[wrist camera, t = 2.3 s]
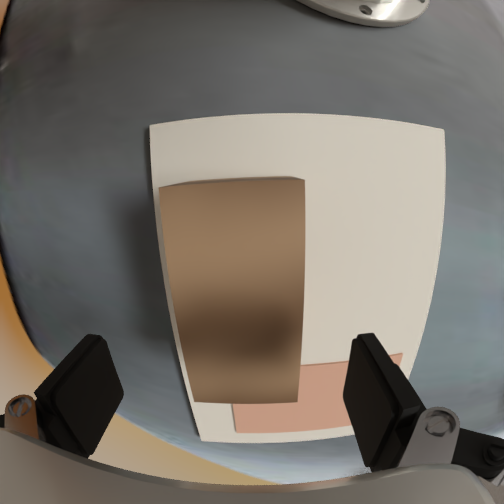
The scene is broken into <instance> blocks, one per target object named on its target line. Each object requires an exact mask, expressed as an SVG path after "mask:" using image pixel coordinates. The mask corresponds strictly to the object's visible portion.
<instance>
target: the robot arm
mask: <svg viewBox="0 0 504 504" xmlns="http://www.w3.org/2000/svg"><path fill="white" fill-rule="evenodd" d="M297 1H299V2H301V3H303V4H305V5H307V6H308V7H310V8H312V9H315V10H317V11H320V12H322V13H325V14H327V15H329V16H332V17H335V18H339V19H342V20H345V21H348V22H352V23H357V24H362V25H367V26H377V27H394V26H401V25H404V24H408V23H410V22H412V21H413V20H415V19H417V18H418V17H419V16H420V15H421V14H422V13H423V12H425V11H426V9H427V7H428V5H429V0H297ZM34 394H35V395H36V397H37V399H36V401H35V400H34V399H33V398H32V397H31V396H29V395H18V396H16V397H14V398H12V399H11V400H10V401H9V402H8V403H7V405H6V408H5V414H3V415H0V504H504V439H502V438H499V437H494V436H490V435H486V434H482V433H477V432H474V431H470V430H466V429H462V428H460V421H459V418H458V416H457V415H456V414H455V413H454V412H453V411H451V410H450V409H447V408H444V407H432V408H429V409H426V408H425V406H424V404H423V403H422V401H421V400H420V398H419V396H418V395H417V393H416V392H415V390H414V389H413V387H412V386H411V384H410V382H409V381H408V379H407V378H406V376H405V375H404V373H403V372H402V370H401V369H400V367H399V366H398V365H397V364H395V363H394V362H393V361H392V359H391V358H390V356H389V355H388V353H387V352H386V350H385V349H384V347H383V346H382V344H381V343H380V341H379V340H378V338H377V337H376V335H375V334H374V333H364V334H358V335H357V338H354V339H353V340H352V344H351V350H350V357H349V363H348V368H347V374H346V379H345V384H344V389H343V401H344V404H345V407H346V410H347V413H348V416H349V418H350V421H351V424H352V427H353V430H354V434H355V437H356V440H357V443H358V446H359V449H360V452H361V455H362V458H363V462H364V464H365V466H366V467H370V469H371V472H372V473H366V474H362V475H356V476H351V477H345V478H339V479H333V480H325V481H317V482H308V483H298V484H285V485H254V486H252V485H247V486H245V485H221V484H207V483H197V482H188V481H180V480H174V479H167V478H161V477H156V476H150V475H146V474H141V473H137V472H132V471H128V470H124V469H120V468H116V467H113V466H110V465H106V464H102V463H99V462H96V461H93V460H90V459H88V457H89V456H90V455H92V454H93V453H94V451H95V449H96V447H97V445H98V444H99V442H100V440H101V438H102V436H103V434H104V432H105V430H106V428H107V426H108V424H109V423H110V421H111V419H112V417H113V415H114V413H115V411H116V410H117V408H118V406H119V404H120V402H121V400H122V399H123V395H124V391H123V388H122V385H121V383H120V380H119V377H118V375H117V372H116V369H115V366H114V363H113V360H112V358H111V355H110V351H109V348H108V345H107V342H106V341H105V340H104V339H103V338H102V336H100V335H93V334H87V335H86V336H85V337H84V338H83V339H82V340H81V341H80V342H79V343H78V344H77V345H76V346H75V348H74V349H73V350H72V351H71V352H70V353H69V354H68V355H67V356H66V357H65V358H64V359H63V360H62V361H61V363H60V364H59V365H58V366H57V367H56V368H55V369H54V370H53V371H52V373H51V374H50V375H49V376H48V377H47V378H46V379H45V380H44V381H43V383H42V384H41V385H40V386H39V387H38V388H37V389H36V391H35V392H34Z"/></svg>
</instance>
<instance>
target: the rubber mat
mask: <svg viewBox="0 0 504 504" xmlns="http://www.w3.org/2000/svg"><path fill="white" fill-rule="evenodd" d="M150 151H151V170H152V184H153V196H154V207H155V217H156V226H157V235H158V243H159V251H160V258H161V265H162V272H163V278H164V284H165V290H166V296H167V302H168V307H169V313H170V318H171V323H172V328H173V333H174V338H175V343H176V347H177V352H178V356H179V360H180V365H181V369H182V373H183V377H184V381H185V385H186V389H187V393H188V396H189V400H190V404H191V407H192V411H193V414H194V418H195V421H196V424H197V428H198V431H199V434H200V437H201V441H211V442H229V443H277V442H295V441H308V440H318V439H326V438H334V437H341V436H348V435H354V430H353V427H352V424H351V421H350V418H349V416H348V413H347V410H346V407H345V404H344V401H343V389H344V384H345V379H346V374H347V368H348V363H349V357H350V350H351V344H352V340H353V339H354V338H357V335H358V334H364V333H374V334H375V335H376V337H377V338H378V340H379V341H380V343H381V344H382V346H383V347H384V349H385V350H386V352H387V353H388V355H389V356H390V358H391V359H392V361H393V362H394V363H395V364H397V365H398V366H399V367H400V369H401V370H402V372H403V373H404V375H405V376H406V378H407V379H408V378H409V375H410V373H411V370H412V367H413V364H414V361H415V358H416V355H417V351H418V348H419V345H420V342H421V338H422V335H423V331H424V327H425V323H426V320H427V316H428V311H429V307H430V303H431V298H432V294H433V289H434V284H435V278H436V273H437V267H438V260H439V253H440V246H441V238H442V228H443V217H444V202H445V137H444V130H443V129H439V128H434V127H429V126H423V125H418V124H412V123H406V122H399V121H392V120H385V119H377V118H368V117H357V116H345V115H330V114H301V113H274V114H245V115H229V116H217V117H206V118H197V119H188V120H181V121H173V122H167V123H160V124H154V125H150ZM268 176H293V177H296V178H300V179H304V180H305V286H304V313H303V333H302V350H301V365H300V378H299V390H298V402H294V403H273V404H223V403H203V402H194V399H193V395H192V391H191V387H190V383H189V379H188V375H187V371H186V366H185V362H184V357H183V353H182V348H181V343H180V338H179V333H178V328H177V323H176V318H175V312H174V306H173V301H172V295H171V289H170V282H169V276H168V269H167V262H166V254H165V247H164V238H163V230H162V220H161V210H160V200H159V187H163V186H168V185H172V184H177V183H182V182H187V181H195V180H208V179H223V178H242V177H268Z"/></svg>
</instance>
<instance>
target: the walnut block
mask: <svg viewBox="0 0 504 504" xmlns="http://www.w3.org/2000/svg"><path fill="white" fill-rule="evenodd" d="M159 200H160V210H161V220H162V230H163V238H164V247H165V254H166V262H167V269H168V276H169V282H170V289H171V295H172V301H173V306H174V312H175V318H176V323H177V328H178V333H179V338H180V343H181V348H182V353H183V357H184V362H185V366H186V371H187V375H188V379H189V383H190V387H191V391H192V395H193V399H194V402H203V403H223V404H273V403H294V402H298V390H299V378H300V365H301V350H302V333H303V313H304V286H305V180H304V179H300V178H296V177H293V176H268V177H242V178H223V179H208V180H195V181H187V182H182V183H177V184H172V185H168V186H163V187H159Z"/></svg>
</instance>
